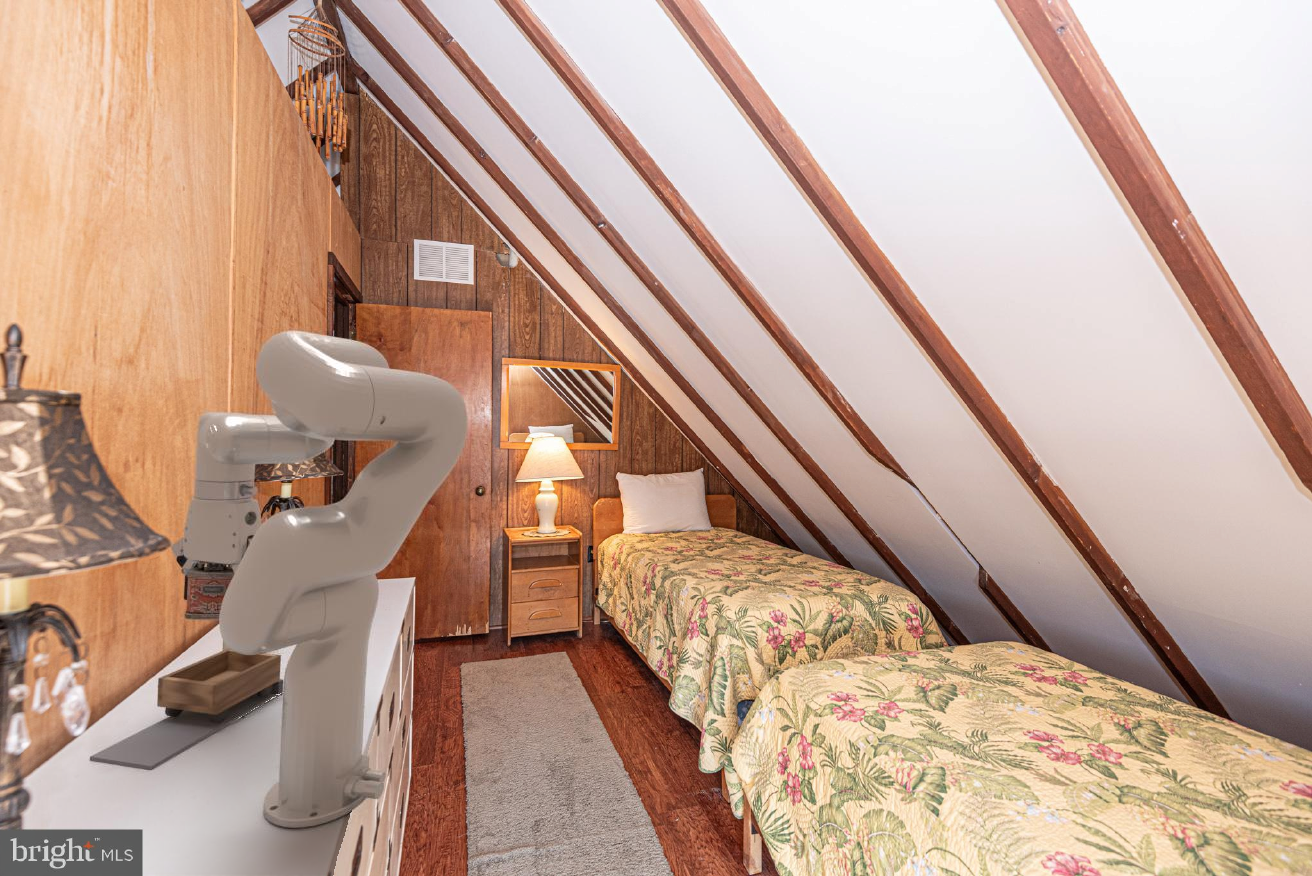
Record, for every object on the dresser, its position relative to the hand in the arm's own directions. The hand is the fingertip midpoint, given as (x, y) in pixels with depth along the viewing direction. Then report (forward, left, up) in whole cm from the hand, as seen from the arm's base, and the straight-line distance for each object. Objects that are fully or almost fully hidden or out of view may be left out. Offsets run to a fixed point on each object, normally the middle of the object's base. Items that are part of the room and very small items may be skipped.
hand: (218, 600), depth 90 cm
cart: (+3, -5, -20) cm, 21 cm away
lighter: (0, 0, -3) cm, 3 cm away
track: (+3, 0, -20) cm, 21 cm away
